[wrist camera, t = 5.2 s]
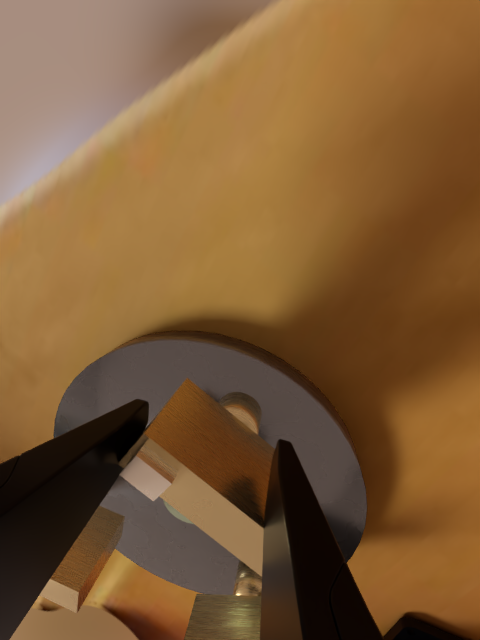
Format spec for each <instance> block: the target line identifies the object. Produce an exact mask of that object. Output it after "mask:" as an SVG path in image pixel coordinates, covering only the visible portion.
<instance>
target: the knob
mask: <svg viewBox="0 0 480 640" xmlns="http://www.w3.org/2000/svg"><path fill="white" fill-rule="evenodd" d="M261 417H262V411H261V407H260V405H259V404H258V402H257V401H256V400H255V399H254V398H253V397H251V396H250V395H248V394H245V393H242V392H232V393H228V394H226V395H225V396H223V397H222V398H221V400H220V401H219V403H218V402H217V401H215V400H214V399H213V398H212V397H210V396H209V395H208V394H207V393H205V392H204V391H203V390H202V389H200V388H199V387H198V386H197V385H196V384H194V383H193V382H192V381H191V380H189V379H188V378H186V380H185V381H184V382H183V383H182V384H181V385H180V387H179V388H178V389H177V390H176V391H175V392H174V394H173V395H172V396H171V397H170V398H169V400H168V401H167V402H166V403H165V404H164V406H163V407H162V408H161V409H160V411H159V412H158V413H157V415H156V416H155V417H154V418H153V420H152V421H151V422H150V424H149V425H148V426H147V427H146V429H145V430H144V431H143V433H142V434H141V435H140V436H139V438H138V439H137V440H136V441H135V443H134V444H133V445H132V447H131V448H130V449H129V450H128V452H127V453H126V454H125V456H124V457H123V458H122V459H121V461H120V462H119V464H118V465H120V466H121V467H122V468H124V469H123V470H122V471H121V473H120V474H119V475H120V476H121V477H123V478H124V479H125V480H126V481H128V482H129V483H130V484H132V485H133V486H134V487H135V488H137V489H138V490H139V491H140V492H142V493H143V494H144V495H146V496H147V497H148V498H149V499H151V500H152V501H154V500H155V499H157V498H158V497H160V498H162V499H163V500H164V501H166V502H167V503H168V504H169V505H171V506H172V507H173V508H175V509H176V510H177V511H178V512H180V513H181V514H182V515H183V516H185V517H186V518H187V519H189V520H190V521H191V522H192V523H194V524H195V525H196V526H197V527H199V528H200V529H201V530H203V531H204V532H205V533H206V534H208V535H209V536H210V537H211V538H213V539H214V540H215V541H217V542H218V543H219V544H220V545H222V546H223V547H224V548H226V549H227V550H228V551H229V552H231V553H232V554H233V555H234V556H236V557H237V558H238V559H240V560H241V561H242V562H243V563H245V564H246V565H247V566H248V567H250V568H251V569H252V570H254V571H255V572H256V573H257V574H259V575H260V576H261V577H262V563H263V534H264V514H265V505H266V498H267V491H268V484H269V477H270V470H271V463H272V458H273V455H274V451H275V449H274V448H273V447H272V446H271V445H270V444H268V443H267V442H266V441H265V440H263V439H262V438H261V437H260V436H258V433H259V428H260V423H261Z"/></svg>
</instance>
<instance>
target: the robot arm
mask: <svg viewBox="0 0 480 640" xmlns="http://www.w3.org/2000/svg"><path fill="white" fill-rule="evenodd" d="M148 417H149V403H148V402H147V401H145V400H141V399H135V400H133V401H131V402H129V403H127V404H125V405H122V406H120V407H118V408H116V409H114V410H112V411H110V412H108V413H106V414H104V415H102V416H99V417H97V418H95V419H93V420H91V421H89V422H87V423H85V424H83V425H81V426H79V427H77V428H74V429H72V430H70V431H68V432H66V433H64V434H62V435H60V436H58V437H56V438H54V439H51V440H49V441H47V442H45V443H43V444H41V445H39V446H37V447H35V448H33V449H31V450H28V451H26V452H24V453H22V454H21V455H20V456H16V457H14V458H12V459H9V460H7V461H5V462H3V463H1V464H0V640H9V639H10V638H11V636H12V635H13V633H14V632H15V630H16V629H17V627H18V626H19V624H20V623H21V621H22V620H23V618H24V617H25V616H26V614H27V613H28V611H29V610H30V608H31V607H32V605H33V604H34V602H35V601H36V599H37V598H38V596H39V595H40V593H41V592H42V590H43V589H44V587H45V586H46V584H47V583H48V581H49V580H50V578H51V577H52V575H53V574H54V572H55V571H56V569H57V568H58V566H59V565H60V563H61V562H62V560H63V559H64V557H65V556H66V554H67V553H68V551H69V550H70V548H71V547H72V545H73V544H74V542H75V541H76V539H77V538H78V537H79V535H80V534H81V532H82V531H83V529H84V528H85V526H86V525H87V523H88V522H89V520H90V519H91V517H92V516H93V514H94V513H95V511H96V510H97V508H98V507H99V505H100V504H101V502H102V501H103V499H104V498H105V496H106V495H107V493H108V492H109V490H110V489H111V487H112V486H113V484H114V483H115V481H116V480H117V478H118V477H119V474H120V473H121V471H122V470H123V469H124V468H122V467H121V466H120V465H118V464H119V462H120V461H121V459H122V458H123V457H124V456H125V454H126V453H127V452H128V450H129V449H130V448H131V447H132V445H133V444H134V443H135V441H136V440H137V439H138V438H139V436H140V435H141V434H142V433H143V431H144V430H145V428H146V426H147V424H148ZM344 562H345V559H344V556H343V554H342V552H341V550H340V548H339V545H338V543H337V541H336V539H335V537H334V535H333V532H332V530H331V528H330V526H329V524H328V521H327V519H326V517H325V515H324V513H323V510H322V508H321V506H320V504H319V502H318V500H317V497H316V495H315V493H314V491H313V489H312V486H311V484H310V482H309V480H308V478H307V475H306V473H305V471H304V469H303V467H302V465H301V462H300V460H299V458H298V456H297V454H296V451H295V449H294V447H293V445H292V443H291V442H290V441H286V440H283V439H279V440H278V441H277V445H276V448H275V451H274V455H273V458H272V463H271V470H270V477H269V484H268V491H267V498H266V505H265V514H264V534H263V563H262V591H261V620H260V640H462V639H460V638H457V637H455V636H453V635H450V634H448V633H446V632H443V631H441V630H438V629H436V628H434V627H431V626H429V625H427V624H424V623H422V622H419V621H417V620H415V619H412V618H407V617H405V618H401V619H400V620H399V621H398V622H397V623H396V624H395V625H394V627H393V628H392V629H391V630H390V631H389V632H388V633H387V634H386V635H385V636H384V637H383V636H382V634H381V632H380V631H379V629H378V627H377V625H376V623H375V621H374V619H373V617H372V615H371V613H370V612H369V610H368V607H367V605H366V603H365V601H364V599H363V597H362V595H361V593H360V591H359V589H358V587H357V585H356V583H355V580H354V578H353V576H352V574H351V572H350V569H349V567H348V565H347V563H344Z"/></svg>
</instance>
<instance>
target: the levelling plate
mask: <svg viewBox="0 0 480 640" xmlns="http://www.w3.org/2000/svg"><path fill="white" fill-rule="evenodd" d="M186 378H188V379H189V380H191V381H192V382H193V383H194V384H196V385H197V386H198V387H199V388H200V389H202V390H203V391H204V392H205V393H207V394H208V395H209V396H210V397H212V398H213V399H214V400H215V401H217V402H218V403H219V401H220V400H221V398H222V397H223V396H225V395H226V394H228V393H232V392H242V393H245V394H248V395H250V396H251V397H253V398H254V399H255V400H256V401H257V402H258V404H259V405H260V407H261V411H262V417H261V423H260V428H259V433H258V436H260V437H261V438H262V439H263V440H265V441H266V442H267V443H268V444H270V445H271V446H272V447H273V448H274V449H275V448H276V445H277V441H278V440H279V439H283V440H286V441H290V442H291V443H292V445H293V447H294V449H295V451H296V454H297V456H298V458H299V460H300V462H301V465H302V467H303V469H304V471H305V473H306V475H307V478H308V480H309V482H310V484H311V486H312V489H313V491H314V493H315V495H316V497H317V500H318V502H319V504H320V506H321V508H322V510H323V513H324V515H325V517H326V519H327V521H328V524H329V526H330V528H331V530H332V532H333V535H334V537H335V539H336V541H337V543H338V545H339V548H340V550H341V552H342V554H343V556H344V559H345V562H344V563H347V562H348V560H349V559H350V558H351V557H352V555H353V554H354V552H355V550H356V548H357V546H358V544H359V543H360V540H361V537H362V534H363V531H364V528H365V522H366V513H367V500H366V488H365V484H364V481H363V477H362V473H361V469H360V465H359V462H358V458H357V455H356V451H355V447H354V444H353V441H352V439H351V437H350V434H349V432H348V430H347V428H346V425H345V424H344V422H343V420H342V419H341V417H340V416H339V414H338V412H337V411H336V409H335V408H334V406H333V405H332V404H331V403H330V402H329V400H328V399H327V398H326V397H325V396H324V394H323V393H322V392H321V391H320V390H319V389H318V388H317V387H316V386H315V385H314V384H313V383H312V382H311V381H310V380H308V379H307V378H306V377H305V376H304V375H303V374H302V373H300V372H299V371H298V370H296V369H295V368H293V367H292V366H291V365H289V364H288V363H286V362H285V361H284V360H282V359H280V358H278V357H276V356H275V355H273V354H271V353H269V352H267V351H265V350H264V349H262V348H259V347H257V346H254V345H252V344H249V343H247V342H244V341H242V340H239V339H235V338H231V337H228V336H224V335H220V334H215V333H208V332H201V331H167V332H159V333H153V334H150V335H146V336H142V337H139V338H136V339H133V340H131V341H129V342H127V343H125V344H122V345H120V346H119V347H117V348H115V349H114V350H112V351H111V352H109V353H107V354H106V355H104V356H103V357H101V358H100V359H98V360H97V361H95V362H94V363H92V364H91V365H89V366H87V367H86V368H85V369H84V370H83V371H82V372H81V373H80V374H79V375H78V376H77V377H76V378H75V379H74V380H73V381H72V383H71V384H70V386H69V387H68V388H67V390H66V391H65V393H64V395H63V398H62V400H61V402H60V404H59V407H58V411H57V414H56V418H55V426H54V438H56V437H58V436H60V435H62V434H64V433H66V432H68V431H70V430H72V429H74V428H77V427H79V426H81V425H83V424H85V423H87V422H89V421H91V420H93V419H95V418H97V417H99V416H102V415H104V414H106V413H108V412H110V411H112V410H114V409H116V408H118V407H120V406H122V405H125V404H127V403H129V402H131V401H133V400H135V399H141V400H145V401H147V402H148V403H149V417H148V424H147V426H148V425H149V424H150V422H151V421H152V420H153V418H154V417H155V416H156V415H157V413H158V412H159V411H160V409H161V408H162V407H163V406H164V404H165V403H166V402H167V401H168V400H169V398H170V397H171V396H172V395H173V394H174V392H175V391H176V390H177V389H178V388H179V387H180V385H181V384H182V383H183V382H184V381H185V380H186ZM147 426H146V427H147ZM145 429H146V428H145ZM99 506H102V507H104V508H106V509H109V510H111V511H113V512H116V513H118V514H120V515H122V516H125V519H124V525H123V531H122V537H121V538H120V540H119V542H118V544H117V545H116V547H115V548H116V549H117V550H118V551H119V552H120V553H122V554H123V555H124V556H126V557H127V558H129V559H130V560H131V561H133V562H134V563H136V564H137V565H139V566H141V567H142V568H144V569H146V570H147V571H149V572H151V573H152V574H154V575H156V576H158V577H160V578H162V579H164V580H167V581H169V582H171V583H174V584H176V585H179V586H181V587H184V588H187V589H190V590H193V591H196V592H199V593H203V594H215V595H233V591H234V585H235V580H236V574H237V569H238V564H239V562H240V561H241V560H240V559H238V558H237V557H236V556H234V555H233V554H232V553H231V552H229V551H228V550H227V549H226V548H224V547H223V546H222V545H220V544H219V543H218V542H217V541H215V540H214V539H213V538H211V537H210V536H209V535H208V534H206V533H205V532H204V531H203V530H201V529H200V528H199V527H197V526H196V525H195V524H194V523H192V522H191V521H190V520H189V519H187V518H186V517H185V516H183V515H182V514H181V513H180V512H178V511H177V510H176V509H175V508H173V507H172V506H171V505H169V504H168V503H167V502H166V501H164V500H163V499H162V498H160V497H158V498H157V499H155V500H154V501H152V500H151V499H149V498H148V497H147V496H146V495H144V494H143V493H142V492H140V491H139V490H138V489H137V488H135V487H134V486H133V485H132V484H130V483H129V482H128V481H126V480H125V479H124V478H123V477H121V476H120V475H119V477H118V478H117V480H116V481H115V483H114V484H113V486H112V487H111V489H110V491H109V493H108V494H107V495H106V497H105V498H104V499H103V501H102V502H101V504H100V505H99Z"/></svg>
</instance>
